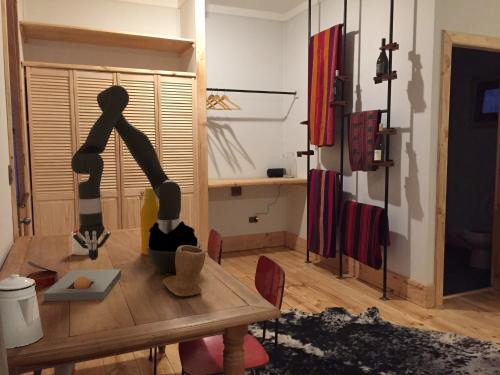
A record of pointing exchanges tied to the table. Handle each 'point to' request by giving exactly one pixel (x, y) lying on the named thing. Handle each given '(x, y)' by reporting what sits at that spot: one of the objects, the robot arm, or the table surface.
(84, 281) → the ball
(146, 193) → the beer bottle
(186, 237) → the bowl of black rocks
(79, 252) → the cup
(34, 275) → the canned food
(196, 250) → the tan suede boot
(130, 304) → the table surface
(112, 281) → the grey flat block
